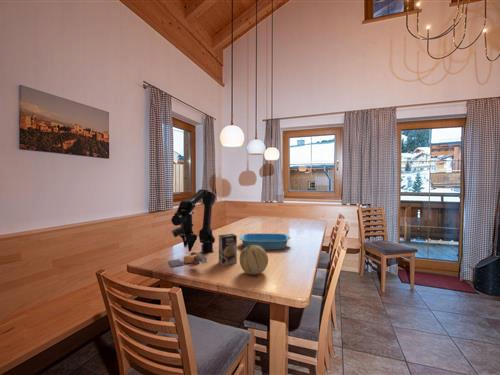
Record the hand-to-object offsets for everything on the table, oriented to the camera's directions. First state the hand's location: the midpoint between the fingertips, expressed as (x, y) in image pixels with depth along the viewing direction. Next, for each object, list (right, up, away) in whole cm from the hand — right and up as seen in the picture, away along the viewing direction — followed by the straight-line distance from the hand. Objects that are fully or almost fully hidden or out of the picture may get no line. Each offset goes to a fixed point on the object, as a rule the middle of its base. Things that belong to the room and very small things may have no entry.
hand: (187, 249), depth 136 cm
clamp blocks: (+4, -8, +2) cm, 9 cm away
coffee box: (+23, -8, 0) cm, 25 cm away
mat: (-6, -8, -1) cm, 10 cm away
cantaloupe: (+38, -9, -15) cm, 42 cm away
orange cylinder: (+2, -8, +2) cm, 9 cm away
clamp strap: (+10, -4, -8) cm, 13 cm away
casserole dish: (+47, -7, +34) cm, 59 cm away
